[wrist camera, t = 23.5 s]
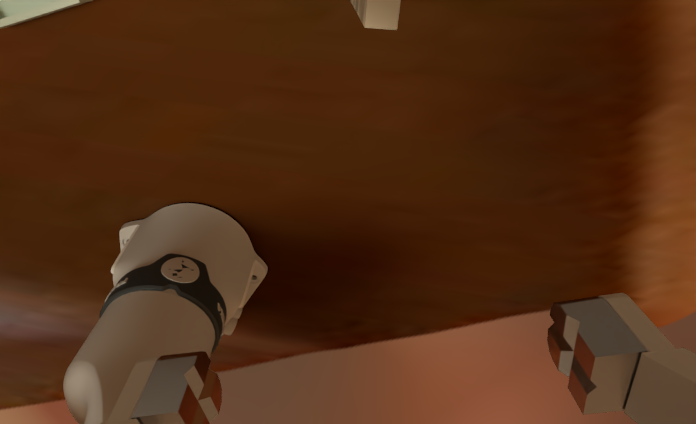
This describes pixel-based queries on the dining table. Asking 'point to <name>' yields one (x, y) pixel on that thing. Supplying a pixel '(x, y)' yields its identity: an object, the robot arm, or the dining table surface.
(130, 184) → the dining table surface
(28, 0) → the service tray
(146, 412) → the robot arm
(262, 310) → the dining table surface
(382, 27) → the plate
